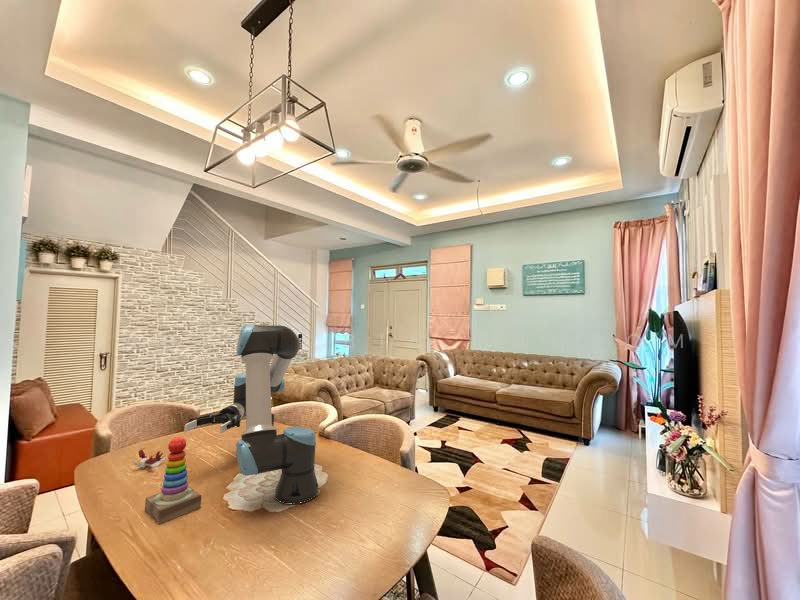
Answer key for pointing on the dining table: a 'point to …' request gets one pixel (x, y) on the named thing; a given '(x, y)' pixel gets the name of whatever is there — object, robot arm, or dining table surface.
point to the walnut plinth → (172, 506)
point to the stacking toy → (175, 471)
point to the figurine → (149, 459)
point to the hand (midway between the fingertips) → (203, 428)
